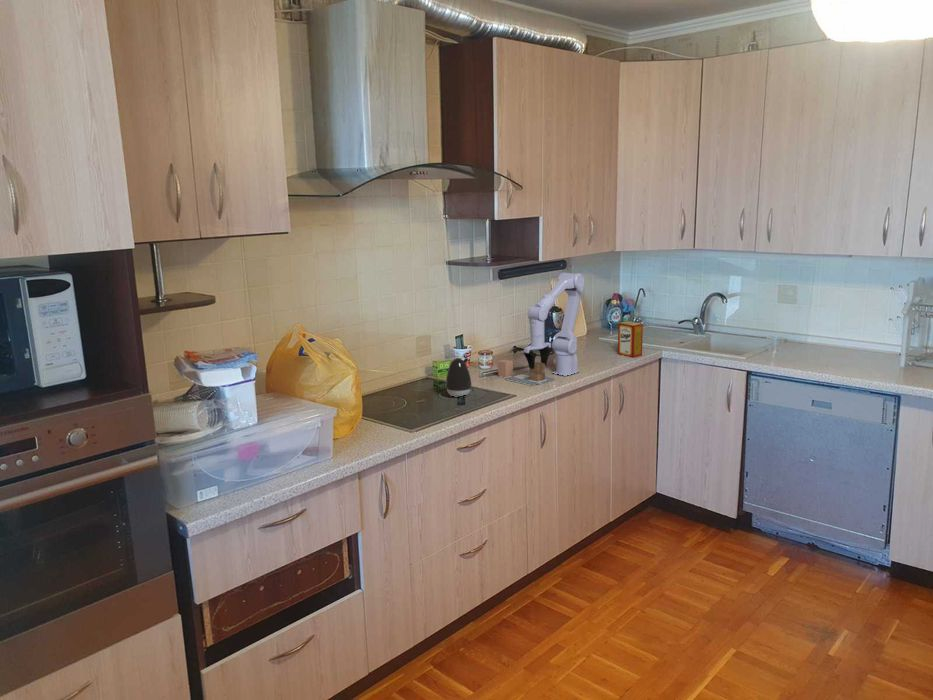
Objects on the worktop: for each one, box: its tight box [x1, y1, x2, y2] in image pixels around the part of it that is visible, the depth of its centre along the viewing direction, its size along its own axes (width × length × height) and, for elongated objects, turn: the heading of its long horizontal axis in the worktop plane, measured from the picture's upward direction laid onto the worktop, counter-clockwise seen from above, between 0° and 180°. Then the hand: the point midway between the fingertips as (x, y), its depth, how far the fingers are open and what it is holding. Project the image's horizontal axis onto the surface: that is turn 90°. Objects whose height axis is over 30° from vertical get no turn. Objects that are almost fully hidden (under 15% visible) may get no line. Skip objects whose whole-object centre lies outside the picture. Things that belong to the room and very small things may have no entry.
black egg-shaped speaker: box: [445, 358, 472, 398], centre depth 279 cm, size 10×10×15 cm
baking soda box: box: [617, 320, 644, 359], centre depth 341 cm, size 10×6×16 cm
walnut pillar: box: [529, 361, 546, 382], centre depth 298 cm, size 4×4×7 cm
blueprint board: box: [504, 372, 556, 385], centre depth 302 cm, size 14×16×1 cm
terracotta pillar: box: [497, 359, 514, 377], centre depth 307 cm, size 4×4×7 cm
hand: (537, 366), depth 297 cm, fingers open, 7 cm apart
